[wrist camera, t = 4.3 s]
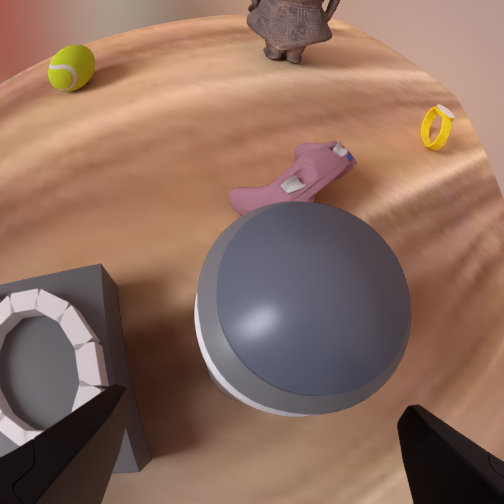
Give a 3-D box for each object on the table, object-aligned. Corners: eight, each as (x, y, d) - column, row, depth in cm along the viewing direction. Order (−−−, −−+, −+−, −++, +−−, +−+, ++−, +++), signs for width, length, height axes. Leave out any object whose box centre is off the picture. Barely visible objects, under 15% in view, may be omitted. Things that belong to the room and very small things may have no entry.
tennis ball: (46, 104, 28) (34, 64, 22) (66, 79, 31) (58, 42, 25) (88, 97, 29) (78, 53, 23) (105, 73, 32) (99, 33, 26)
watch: (413, 127, 34) (430, 95, 29) (428, 134, 35) (446, 104, 30) (423, 152, 31) (444, 117, 26) (439, 159, 31) (461, 126, 26)
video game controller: (253, 246, 24) (306, 230, 17) (219, 199, 23) (261, 166, 17) (323, 186, 28) (376, 162, 21) (296, 147, 27) (344, 114, 21)
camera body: (151, 459, 14) (133, 477, 10) (28, 459, 12) (-10, 466, 7) (116, 285, 19) (94, 254, 15) (8, 305, 17) (-27, 281, 12)
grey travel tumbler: (305, 376, 18) (457, 326, 6) (231, 418, 16) (279, 474, 4) (263, 308, 20) (340, 164, 8) (190, 344, 18) (149, 235, 6)
